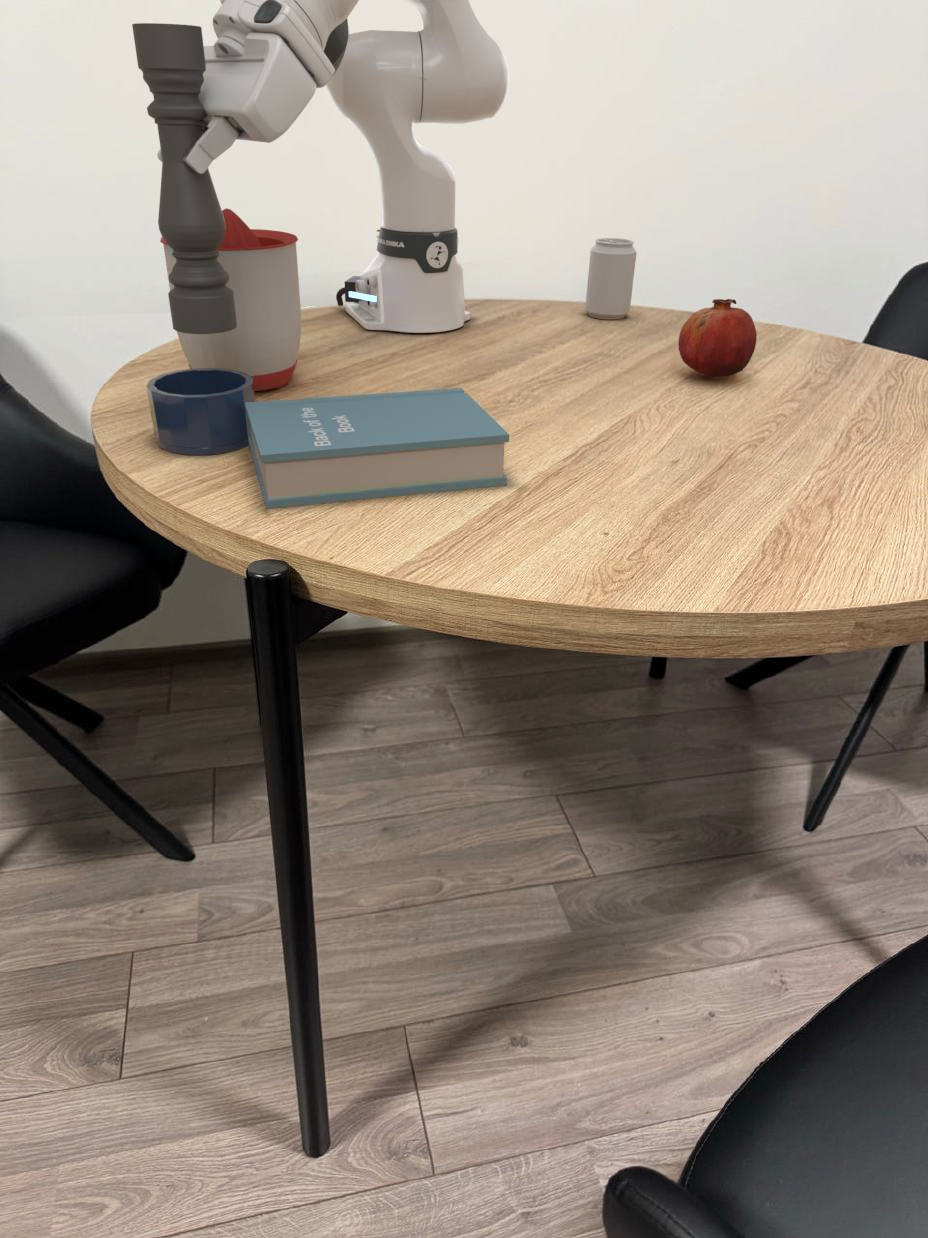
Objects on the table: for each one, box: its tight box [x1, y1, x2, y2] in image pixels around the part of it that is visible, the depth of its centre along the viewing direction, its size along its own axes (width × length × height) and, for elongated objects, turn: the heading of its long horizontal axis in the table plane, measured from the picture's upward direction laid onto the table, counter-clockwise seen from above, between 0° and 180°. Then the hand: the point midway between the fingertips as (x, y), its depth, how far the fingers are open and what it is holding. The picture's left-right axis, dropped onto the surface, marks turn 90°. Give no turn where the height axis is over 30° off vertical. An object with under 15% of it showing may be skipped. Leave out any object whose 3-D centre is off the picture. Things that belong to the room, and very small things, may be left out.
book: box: [245, 387, 510, 510], centre depth 86 cm, size 23×16×5 cm
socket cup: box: [146, 368, 256, 456], centre depth 91 cm, size 10×10×6 cm
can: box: [584, 237, 637, 320], centre depth 146 cm, size 8×8×12 cm
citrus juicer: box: [159, 207, 302, 392], centre depth 106 cm, size 16×17×20 cm
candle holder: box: [131, 22, 237, 334], centre depth 81 cm, size 6×6×25 cm
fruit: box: [678, 298, 757, 378], centre depth 115 cm, size 11×10×10 cm
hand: (178, 165), depth 80 cm, fingers closed on candle holder, 4 cm apart
